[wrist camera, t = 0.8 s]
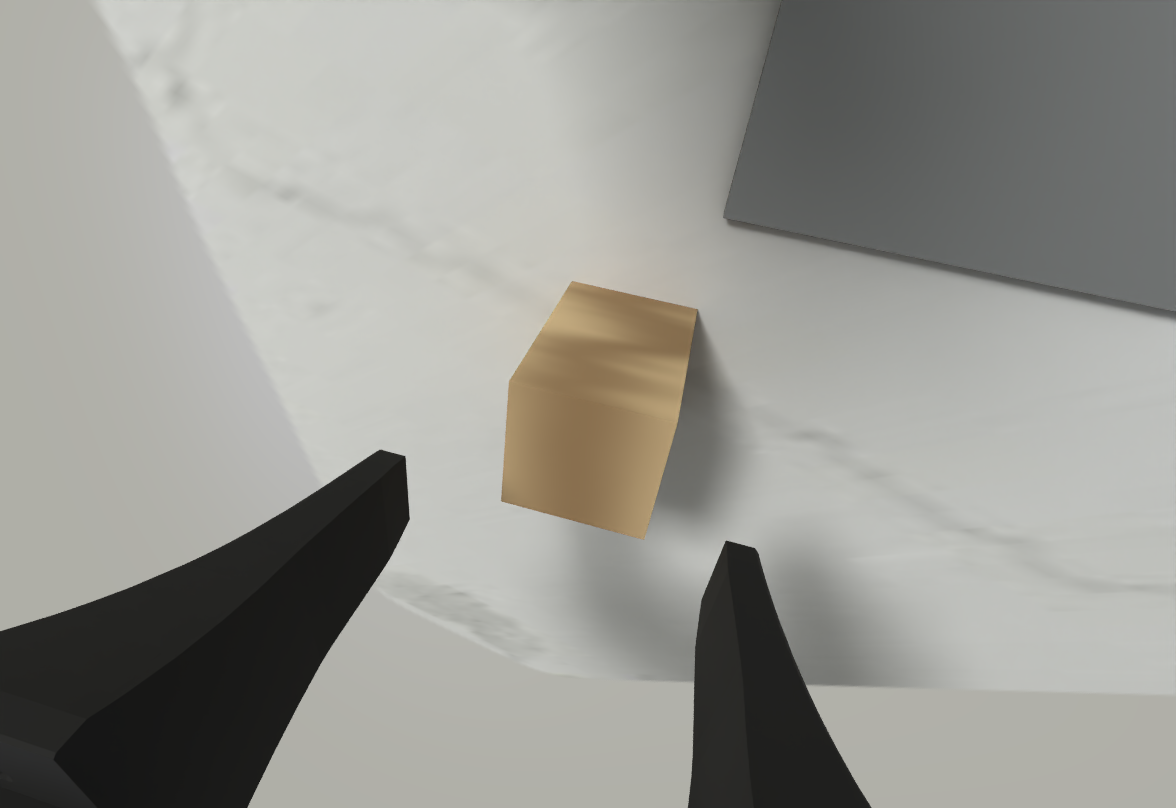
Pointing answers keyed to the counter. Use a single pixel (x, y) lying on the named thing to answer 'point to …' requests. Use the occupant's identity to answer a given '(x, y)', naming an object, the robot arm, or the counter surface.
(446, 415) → the counter surface
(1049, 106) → the mat
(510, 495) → the oak block
